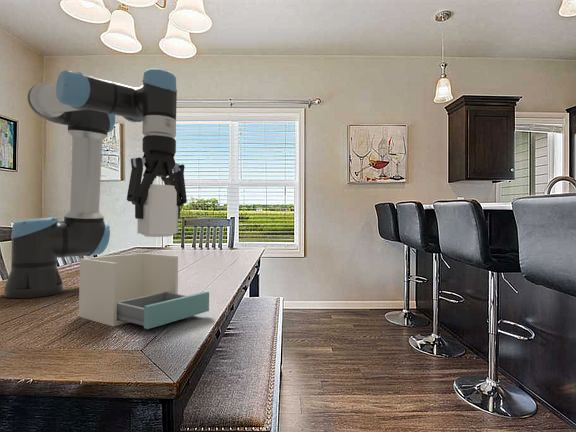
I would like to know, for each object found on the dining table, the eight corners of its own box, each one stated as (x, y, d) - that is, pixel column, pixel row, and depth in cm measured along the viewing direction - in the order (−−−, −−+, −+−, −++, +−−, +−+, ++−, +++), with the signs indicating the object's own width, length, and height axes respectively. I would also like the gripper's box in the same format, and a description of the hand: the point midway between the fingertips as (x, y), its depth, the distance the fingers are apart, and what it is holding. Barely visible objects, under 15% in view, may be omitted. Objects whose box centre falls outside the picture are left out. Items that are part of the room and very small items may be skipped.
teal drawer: (107, 318, 83) (107, 297, 83) (170, 303, 98) (170, 285, 98) (147, 329, 76) (147, 306, 76) (208, 310, 91) (209, 292, 91)
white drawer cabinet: (79, 316, 89) (79, 258, 89) (143, 302, 104) (144, 252, 104) (113, 326, 82) (114, 263, 82) (177, 309, 97) (178, 256, 97)
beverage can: (182, 235, 91) (182, 186, 91) (165, 237, 83) (165, 184, 83) (152, 234, 93) (153, 187, 93) (132, 236, 85) (133, 184, 85)
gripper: (130, 126, 77) (128, 235, 77) (202, 143, 95) (201, 232, 95) (108, 130, 81) (107, 233, 81) (182, 146, 99) (181, 231, 99)
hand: (158, 232), depth 88 cm, fingers closed on beverage can, 8 cm apart
